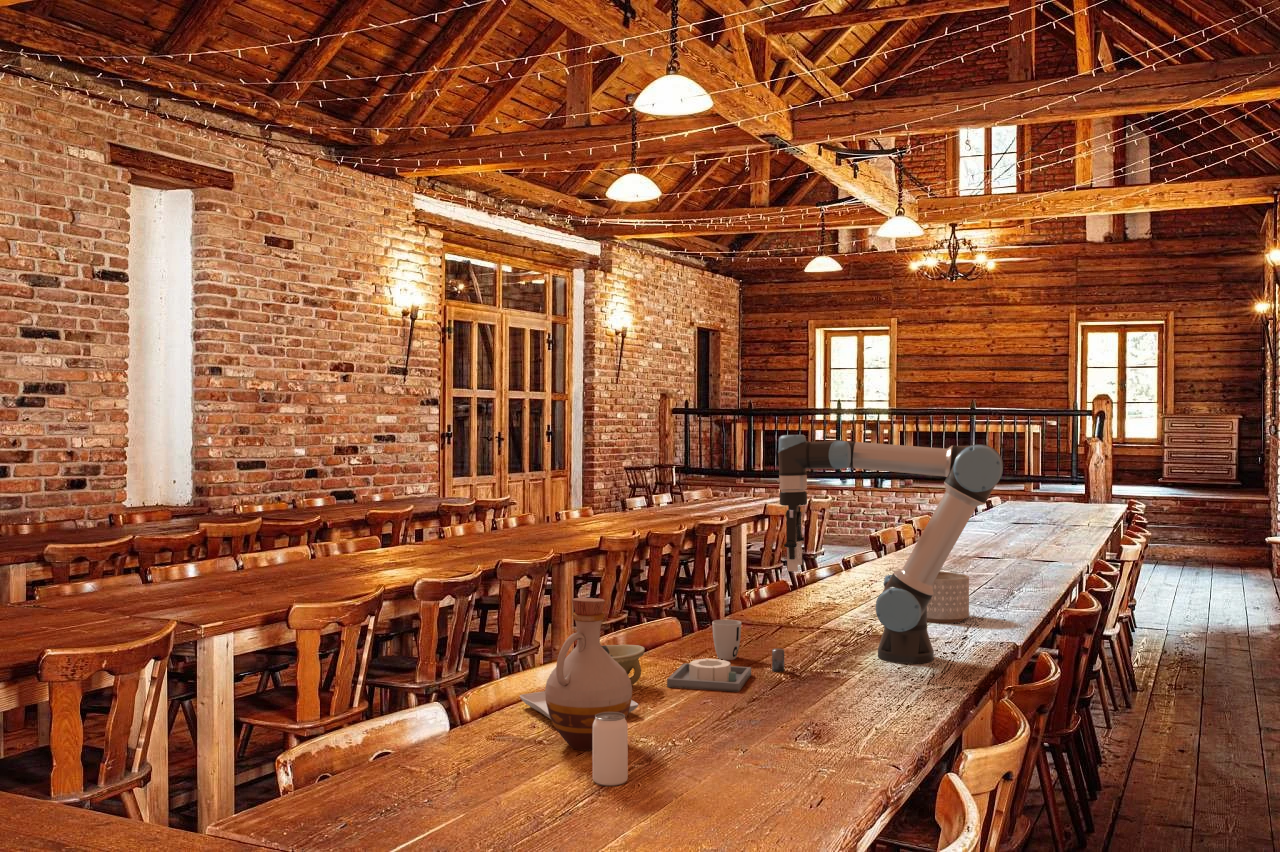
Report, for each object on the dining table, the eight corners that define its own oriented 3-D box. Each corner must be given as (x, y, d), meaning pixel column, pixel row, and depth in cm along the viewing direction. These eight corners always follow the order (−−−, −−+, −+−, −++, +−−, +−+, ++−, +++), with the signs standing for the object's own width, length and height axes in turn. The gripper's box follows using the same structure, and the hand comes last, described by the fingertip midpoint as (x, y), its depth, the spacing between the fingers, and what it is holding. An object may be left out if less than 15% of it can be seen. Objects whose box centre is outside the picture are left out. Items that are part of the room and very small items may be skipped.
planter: (975, 617, 362) (975, 574, 361) (959, 626, 346) (959, 581, 346) (921, 611, 372) (921, 570, 371) (903, 620, 356) (903, 576, 356)
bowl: (656, 682, 273) (656, 644, 273) (625, 698, 257) (625, 658, 256) (594, 675, 280) (594, 638, 280) (561, 691, 264) (561, 652, 264)
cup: (739, 661, 295) (739, 625, 295) (710, 660, 297) (710, 624, 297) (742, 655, 303) (742, 620, 303) (714, 654, 305) (714, 619, 305)
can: (591, 775, 201) (591, 711, 201) (626, 774, 202) (626, 710, 202) (593, 787, 195) (593, 721, 195) (628, 786, 195) (628, 720, 195)
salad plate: (553, 731, 231) (553, 715, 231) (517, 707, 250) (517, 693, 250) (641, 718, 241) (641, 703, 241) (600, 697, 260) (600, 682, 260)
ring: (695, 673, 280) (695, 657, 280) (738, 675, 277) (738, 660, 277) (686, 682, 270) (686, 666, 270) (731, 685, 267) (731, 669, 267)
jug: (595, 766, 206) (595, 610, 206) (521, 751, 216) (521, 602, 216) (648, 740, 223) (648, 595, 223) (578, 727, 233) (578, 588, 232)
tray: (751, 674, 280) (751, 667, 280) (738, 691, 263) (738, 683, 263) (683, 670, 285) (683, 663, 285) (667, 687, 268) (667, 679, 267)
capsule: (785, 669, 286) (785, 648, 286) (783, 672, 283) (783, 651, 283) (773, 668, 287) (773, 648, 287) (771, 671, 284) (771, 650, 284)
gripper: (784, 488, 309) (785, 562, 309) (774, 493, 285) (776, 573, 285) (810, 487, 308) (812, 562, 308) (802, 493, 283) (804, 574, 283)
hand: (795, 568), depth 296 cm, fingers open, 13 cm apart
